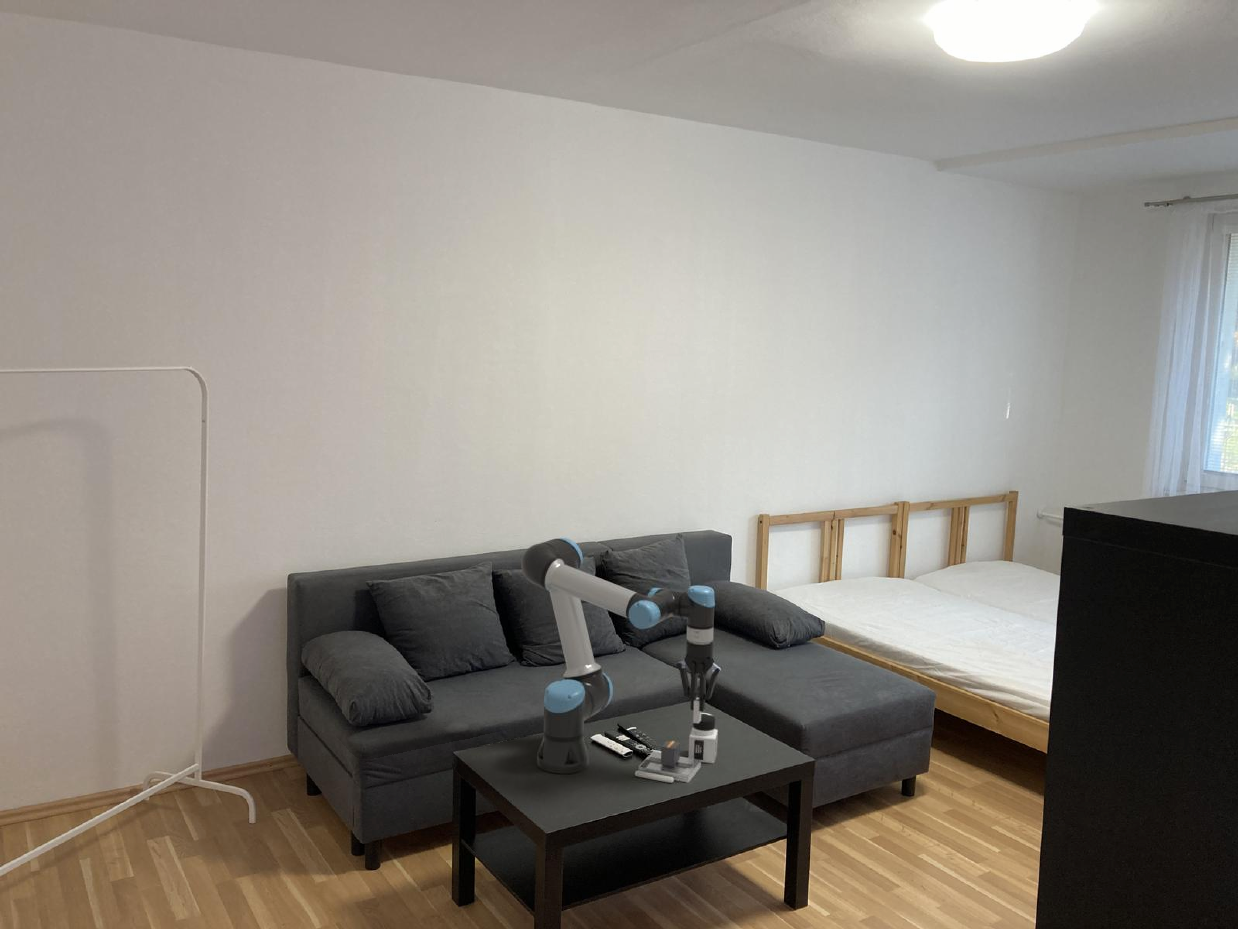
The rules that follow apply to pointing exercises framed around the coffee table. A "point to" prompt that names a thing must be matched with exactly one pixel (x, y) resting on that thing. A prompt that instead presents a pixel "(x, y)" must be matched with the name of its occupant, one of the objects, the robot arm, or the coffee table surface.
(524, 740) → the coffee table surface
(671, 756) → the toggle
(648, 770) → the panel
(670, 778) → the rod
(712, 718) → the container
